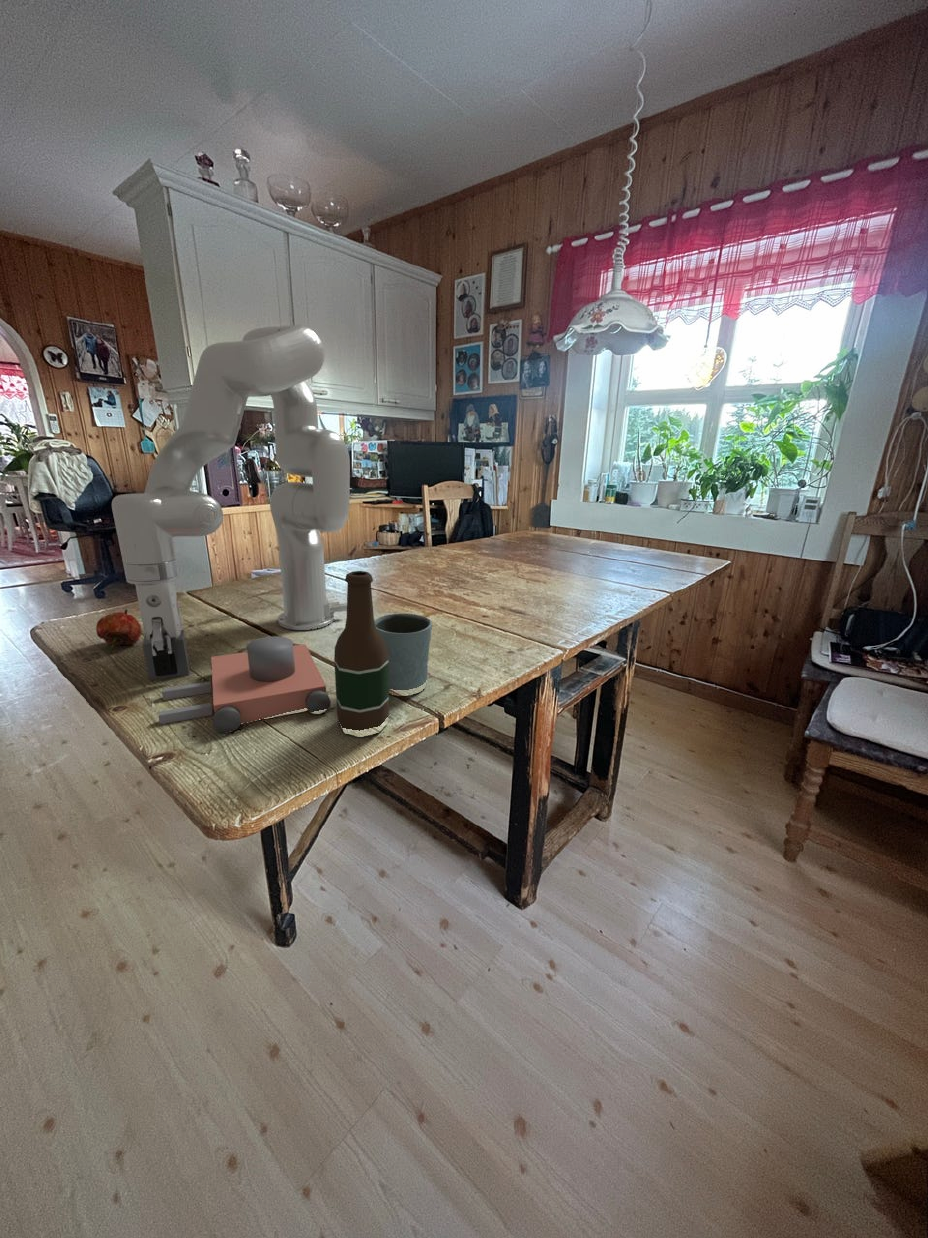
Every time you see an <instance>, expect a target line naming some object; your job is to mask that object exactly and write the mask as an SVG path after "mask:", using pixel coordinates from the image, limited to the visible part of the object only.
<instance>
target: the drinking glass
mask: <svg viewBox="0 0 928 1238" xmlns="http://www.w3.org/2000/svg"><path fill="white" fill-rule="evenodd" d="M374 621H375V626H376V629H377V630H378V632H379V633H380V635H381V636H382V637H383V639H384V641H385V644H386V646H387V650H388V665H389V689H393V690H409V689H413V688H417V687H419V686H421V685H423V684H424V683H425V682H426V680H427V681H428V673H429V672H428V670H429V669H428V667H429V666H428V664H429V660H430V658H429V653H430V646H431V645H430V644H431V639H432V637H431V636H432V631H433V630H432V628H433V622H432V620H430V619H429V618H427V617H426V616H424V615H423V616H422V615H419V614H415V613H414V614H413V613H393V614H385V615H382V616H380V617H378V618H376V619H374Z"/></svg>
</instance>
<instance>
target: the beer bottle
mask: <svg viewBox="0 0 928 1238" xmlns="http://www.w3.org/2000/svg"><path fill="white" fill-rule="evenodd" d="M344 579H345V580H344V581H345V582H346V585H347V587H346V588H347V592H346V594H347V595H346V604H347V611H346V618H345V625H344V626H345V627H344V629H343V630H342V631H341V633H340V634H339V635H338V638H337V641H336V644H335V646H334V657H333V658H334V660H333V661H334V679H335V682H334V683H335V697H336V699H335V701H336V714H337V715H336V716H337V721H338V720H339V722H340V724H341V726H342V728H346V729H352V730H359V731H360V730H364V729H369V728H373V727H378V726H380V725H381V724H382V723H383V722H384V721H385V719H386V718H387V717H388V716H389V717H390V695H389V665H388V650H387V646H386V644H385V641H384V639H383V637H382V636H381V635H380V633H379V632H378V630H377V629H376V626H375V616H374V605H373V594H372V582H374V579H373V575H372V574H371V573H370V572H368V571H364V570H356V571H355V570H354V571H351V572H348V573H347V574H346V575H345V578H344Z"/></svg>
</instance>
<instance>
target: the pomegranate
mask: <svg viewBox="0 0 928 1238" xmlns="http://www.w3.org/2000/svg"><path fill="white" fill-rule="evenodd" d="M95 628H96V629H95V630H96V635H97V637H98V638H100V639H103V640H104V641H105V643H107V644H108V645H110V646H111V647H110V650H109V652H108V655H111V653H112V651H113V649H114V648H115V646H123V645H125V646H132V645H135V644H136V643H137V642H139V640H140V638H141V636H142V631H143V630H142V626H141V624H140V623H139V621H138V620H137V619H136V617H135V616H133V615H132V614H128V609H124V612H121V611H120V612H117V611H116V612H112V613H109V614H106V615H105V616H104V615H103V616H101V617H100V618H99V619H98V621H97V623H96V627H95Z"/></svg>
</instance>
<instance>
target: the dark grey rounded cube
mask: <svg viewBox="0 0 928 1238" xmlns="http://www.w3.org/2000/svg"><path fill="white" fill-rule="evenodd" d="M165 635H167V634H163V636H165ZM165 642H166V644H167V641H164V643H165ZM171 644H172V652H174V653H175V658H176V664H177V670H178V672H177V674H173V675H166V676H159V677H158V676H156V674H155V669H154V663H153V658H152V643H151V641H149V640H147V638H146V635H145V634H144V637H143V640H142V644H141V645H142V649H143V655H144V659H145V660H144V661H145V664H146V670H147V675H148V680H149V682H152V681H154V682H155V681H160V680H168V679H174V678H180V677H186V676H190V659H189V653H188V648H187V640H186V635H185V629H181V634H180V636H179V637H178V638H176V637H172V638H171Z"/></svg>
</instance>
